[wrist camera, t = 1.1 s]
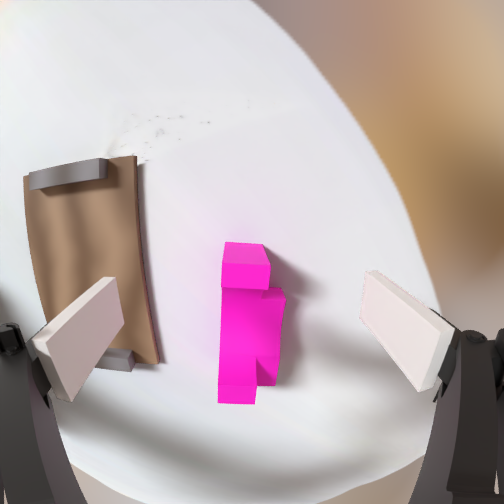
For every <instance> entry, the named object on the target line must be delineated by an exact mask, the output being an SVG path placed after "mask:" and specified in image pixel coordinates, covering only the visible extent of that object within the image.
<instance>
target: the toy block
mask: <svg viewBox="0 0 504 504" xmlns="http://www.w3.org/2000/svg"><path fill="white" fill-rule="evenodd" d="M270 270H271V264H270V262H269V260H268V257H267V255H266V252H265V250H264V248H263V245H262V244H251V243H235V242H225V248H224V254H223V260H222V276H221V287H222V306H221V332H220V354H219V375H218V403H226V404H255V398H256V390H257V386H275V384H276V378H277V372H278V367H279V361H280V337H281V326H282V318H283V312H284V308H285V304H286V298H285V296H284V293H283V291H282V289H281V288H274V287H269V279H270Z"/></svg>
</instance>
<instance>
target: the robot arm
mask: <svg viewBox="0 0 504 504" xmlns="http://www.w3.org/2000/svg"><path fill="white" fill-rule="evenodd" d="M359 318H360V319H361V321H362V322H363V323H364V324H365V325H366V327H367V328H368V329H369V330H370V332H371V333H372V334H373V335H374V336H375V338H376V339H377V340H378V341H379V343H380V344H381V345H382V346H383V348H384V349H385V350H386V351H387V353H388V354H389V355H390V357H391V358H392V359H393V360H394V362H395V363H396V364H397V365H398V367H399V368H400V369H401V371H402V372H403V373H404V374H405V376H406V377H407V378H408V380H409V381H410V382H411V384H412V385H413V386H414V388H415V389H416V390H417V391H418V393H419V392H422V391H425V390H428V389H430V388H433V386H434V383H435V381H436V379H437V376H439V377H440V379H441V380H442V383H441V385H440V388H439V390H438V392H437V394H436V396H435V398H434V400H433V402H435V401H436V400H437V405H436V411H435V416H434V421H433V426H432V430H431V435H430V439H429V443H428V447H427V450H426V454H425V457H424V461H423V464H422V467H421V471H420V474H419V477H418V480H417V482H416V485H415V488H414V491H413V493H412V496H411V498H410V501H409V503H408V504H504V328H503V329H500V330H499V332H498V334H497V337H496V340H487V338H486V337H485V336H484V335H483V334H481V333H479V332H477V331H474V330H466V331H463V332H461V331H460V330H459V329H457V328H456V327H455V326H454V325H452V324H451V323H450V322H448V321H447V320H446V319H445V318H443V317H442V316H440V314H438V313H437V312H436V311H434V310H432V309H430V308H428V307H427V306H425V305H424V304H423V303H421V302H420V301H419V300H417V299H416V298H415V297H413V296H412V295H411V294H409V293H408V292H407V291H405V290H404V289H402V288H401V287H400V286H398V285H397V284H396V283H394V282H393V281H391V280H390V279H389V278H387V277H386V276H384V275H383V274H382V273H380V272H379V271H366V272H365V280H364V288H363V296H362V302H361V309H360V315H359ZM123 325H124V319H123V314H122V309H121V304H120V299H119V294H118V288H117V282H116V277H103V278H102V279H100V280H99V281H98V282H97V283H95V284H94V285H93V286H92V287H90V288H89V289H88V290H87V291H86V292H84V293H83V294H82V295H81V296H80V297H78V298H77V299H76V300H75V301H74V302H72V303H71V304H70V305H69V306H68V307H67V308H65V309H64V310H63V311H62V312H61V313H60V314H59V315H57V316H56V317H55V318H54V319H52V320H51V321H49V322H48V323H47V324H46V325H45V327H43V328H42V329H41V330H40V332H39V331H38V332H37V333H36V334H35V335H34V336H33V337H32V338H31V339H30V340H29V341H28V342H27V343H25V342H24V339H23V337H22V334H21V331H20V328H19V325H18V324H16V323H7V324H4V325H1V326H0V504H4V490H5V494H6V498H7V502H8V504H87V502H86V500H85V497H84V495H83V493H82V491H81V489H80V487H79V484H78V482H77V480H76V477H75V475H74V473H73V470H72V468H71V465H70V462H69V460H68V457H67V454H66V451H65V448H64V445H63V442H62V439H61V436H60V433H59V429H58V426H57V422H56V418H55V415H54V411H53V407H52V402H51V399H50V397H49V395H48V391H49V390H50V388H51V387H52V389H53V391H54V393H55V395H56V397H57V399H61V400H64V401H68V402H72V401H73V400H74V398H75V396H76V395H77V393H78V392H79V390H80V388H81V387H82V385H83V384H84V382H85V381H86V379H87V378H88V376H89V374H90V373H91V371H92V370H93V368H94V367H95V365H96V364H97V362H98V361H99V359H100V358H101V356H102V355H103V354H104V352H105V351H106V349H107V348H108V346H109V345H110V343H111V342H112V340H113V339H114V338H115V336H116V335H117V333H118V332H119V330H120V329H121V328H122V326H123ZM496 470H497V477H498V487H499V494H495V492H494V486H495V478H496Z"/></svg>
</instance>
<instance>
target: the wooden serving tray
mask: <svg viewBox="0 0 504 504" xmlns="http://www.w3.org/2000/svg"><path fill="white" fill-rule="evenodd" d="M23 182H24V203H25V215H26V225H27V233H28V241H29V247H30V254H31V259H32V265H33V270H34V275H35V279H36V284H37V288H38V292H39V296H40V300H41V304H42V307H43V311H44V314H45V318H46V321H47V323H48V322H49V321H51V320H52V319H54V318H55V317H56V316H57V315H59V314H60V313H61V312H62V311H63V310H64V309H65V308H67V307H68V306H69V305H70V304H71V303H72V302H74V301H75V300H76V299H77V298H78V297H80V296H81V295H82V294H83V293H84V292H86V291H87V290H88V289H89V288H90V287H92V286H93V285H94V284H95V283H97V282H98V281H99V280H100V279H102V278H103V277H116V282H117V288H118V294H119V299H120V304H121V309H122V314H123V319H124V325H123V326H122V328H121V329H120V330H119V332H118V333H117V335H116V336H115V338H114V339H113V340H112V342H111V343H110V345H109V346H108V348H107V349H106V351H105V352H104V354H103V355H102V356H101V358H100V359H99V361H98V362H97V364H96V365H95V368H101V369H109V370H117V371H125V372H131V371H132V369H133V367H134V365H135V363H147V364H158V363H159V360H160V359H159V354H158V350H157V345H156V340H155V335H154V330H153V325H152V319H151V313H150V307H149V301H148V295H147V288H146V281H145V273H144V265H143V256H142V247H141V236H140V224H139V209H138V189H137V156H126V157H118V158H111V159H103V158H96V159H90V160H85V161H79V162H74V163H69V164H64V165H60V166H55V167H51V168H46V169H42V170H38V171H34V172H30V173H29V175H27V176H23Z"/></svg>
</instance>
